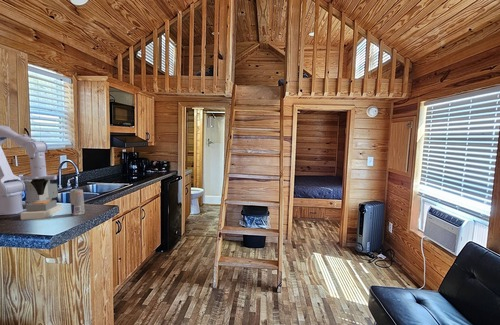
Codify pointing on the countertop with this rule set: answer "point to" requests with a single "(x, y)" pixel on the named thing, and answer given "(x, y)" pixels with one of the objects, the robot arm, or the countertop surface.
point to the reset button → (41, 202)
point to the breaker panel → (41, 210)
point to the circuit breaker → (33, 196)
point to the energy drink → (77, 202)
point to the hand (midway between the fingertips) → (40, 194)
